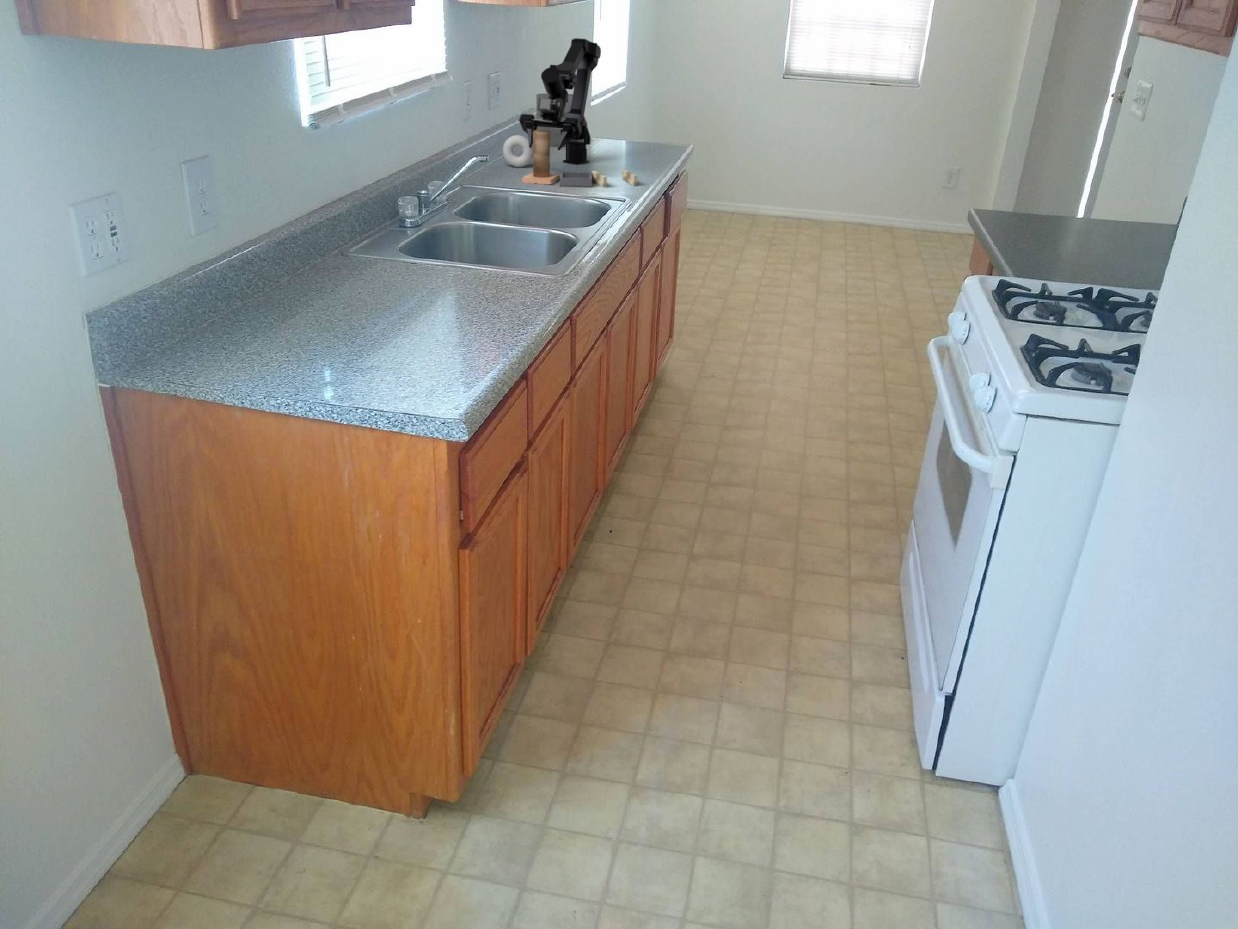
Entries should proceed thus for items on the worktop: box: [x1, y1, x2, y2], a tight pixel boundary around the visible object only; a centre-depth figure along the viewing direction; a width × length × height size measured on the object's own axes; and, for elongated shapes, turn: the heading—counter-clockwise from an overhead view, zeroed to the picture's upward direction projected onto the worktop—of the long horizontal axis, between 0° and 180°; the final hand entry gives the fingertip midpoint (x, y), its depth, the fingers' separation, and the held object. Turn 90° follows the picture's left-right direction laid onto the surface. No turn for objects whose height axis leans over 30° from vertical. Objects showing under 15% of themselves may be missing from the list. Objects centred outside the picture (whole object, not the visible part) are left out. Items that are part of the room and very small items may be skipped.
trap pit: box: [559, 171, 593, 188], centre depth 288 cm, size 10×10×2 cm
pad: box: [521, 171, 560, 185], centre depth 290 cm, size 9×9×2 cm
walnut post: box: [532, 129, 551, 178], centre depth 287 cm, size 5×5×13 cm
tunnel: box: [591, 168, 638, 188], centre depth 290 cm, size 10×11×3 cm
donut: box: [502, 134, 533, 168], centre depth 306 cm, size 10×4×10 cm, turn 87°
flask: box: [535, 93, 573, 148], centre depth 342 cm, size 15×6×20 cm, turn 96°
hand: (544, 148), depth 288 cm, fingers open, 9 cm apart
